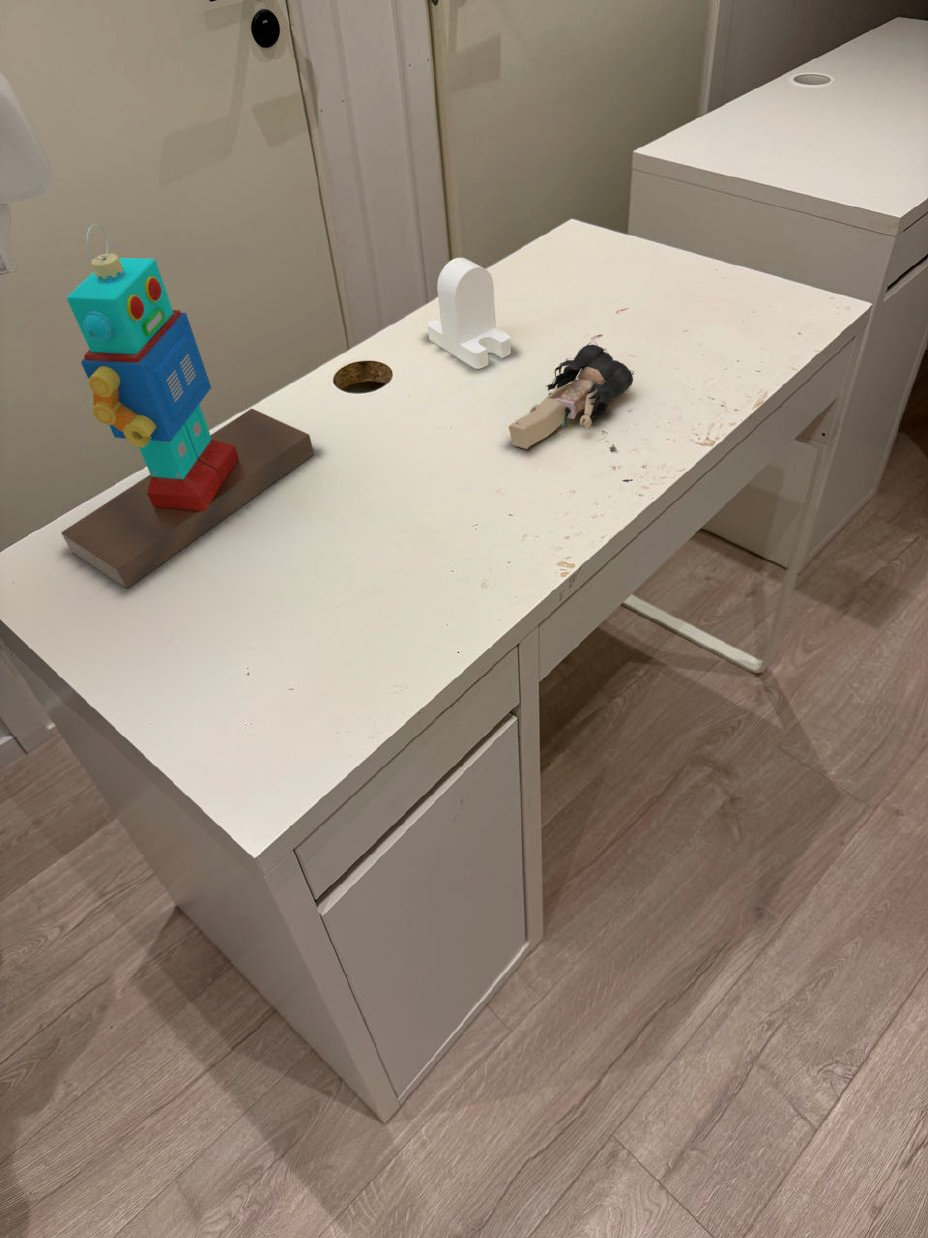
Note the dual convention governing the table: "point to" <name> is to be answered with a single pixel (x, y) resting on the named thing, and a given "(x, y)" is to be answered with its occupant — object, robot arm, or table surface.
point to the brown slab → (148, 536)
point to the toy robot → (150, 379)
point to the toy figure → (574, 395)
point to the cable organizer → (467, 315)
